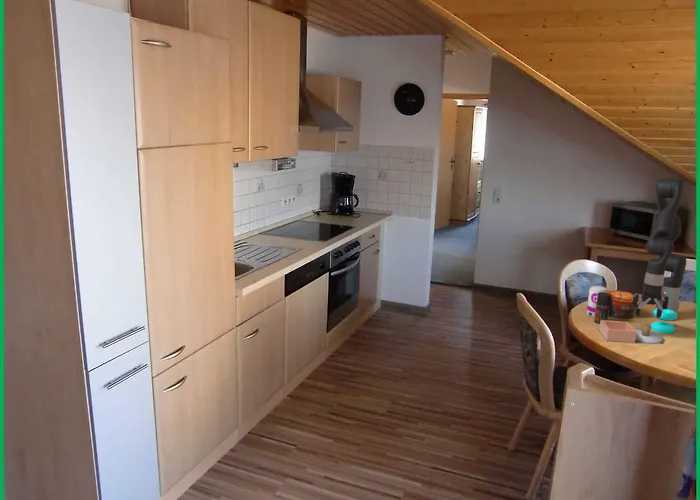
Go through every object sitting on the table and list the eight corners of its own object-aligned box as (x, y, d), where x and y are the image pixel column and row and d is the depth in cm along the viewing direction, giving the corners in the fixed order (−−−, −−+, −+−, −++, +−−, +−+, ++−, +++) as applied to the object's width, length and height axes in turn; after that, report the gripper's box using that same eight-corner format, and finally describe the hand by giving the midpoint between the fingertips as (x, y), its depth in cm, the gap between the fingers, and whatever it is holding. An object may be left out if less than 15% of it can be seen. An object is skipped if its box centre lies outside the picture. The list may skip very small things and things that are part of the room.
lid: (655, 332, 258) (657, 321, 257) (667, 345, 245) (669, 333, 243) (623, 330, 260) (625, 319, 259) (634, 342, 247) (636, 330, 245)
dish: (625, 333, 257) (627, 321, 256) (634, 344, 246) (636, 331, 244) (598, 331, 259) (600, 320, 257) (606, 342, 247) (608, 329, 246)
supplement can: (602, 320, 274) (606, 291, 270) (584, 316, 278) (588, 288, 274) (604, 315, 281) (608, 287, 277) (587, 311, 285) (591, 284, 281)
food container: (642, 320, 275) (645, 300, 272) (609, 319, 275) (612, 299, 272) (627, 309, 290) (630, 290, 287) (596, 308, 290) (599, 289, 288)
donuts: (657, 305, 267) (680, 311, 260) (653, 325, 269) (676, 330, 262) (651, 310, 259) (674, 316, 253) (647, 330, 262) (671, 336, 255)
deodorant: (608, 326, 266) (612, 296, 263) (595, 324, 268) (599, 295, 264) (605, 321, 272) (609, 292, 268) (592, 320, 273) (596, 291, 270)
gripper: (667, 281, 248) (661, 315, 252) (633, 279, 250) (628, 312, 254) (674, 286, 241) (667, 321, 245) (639, 283, 243) (633, 318, 247)
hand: (647, 316), depth 250 cm, fingers open, 8 cm apart
